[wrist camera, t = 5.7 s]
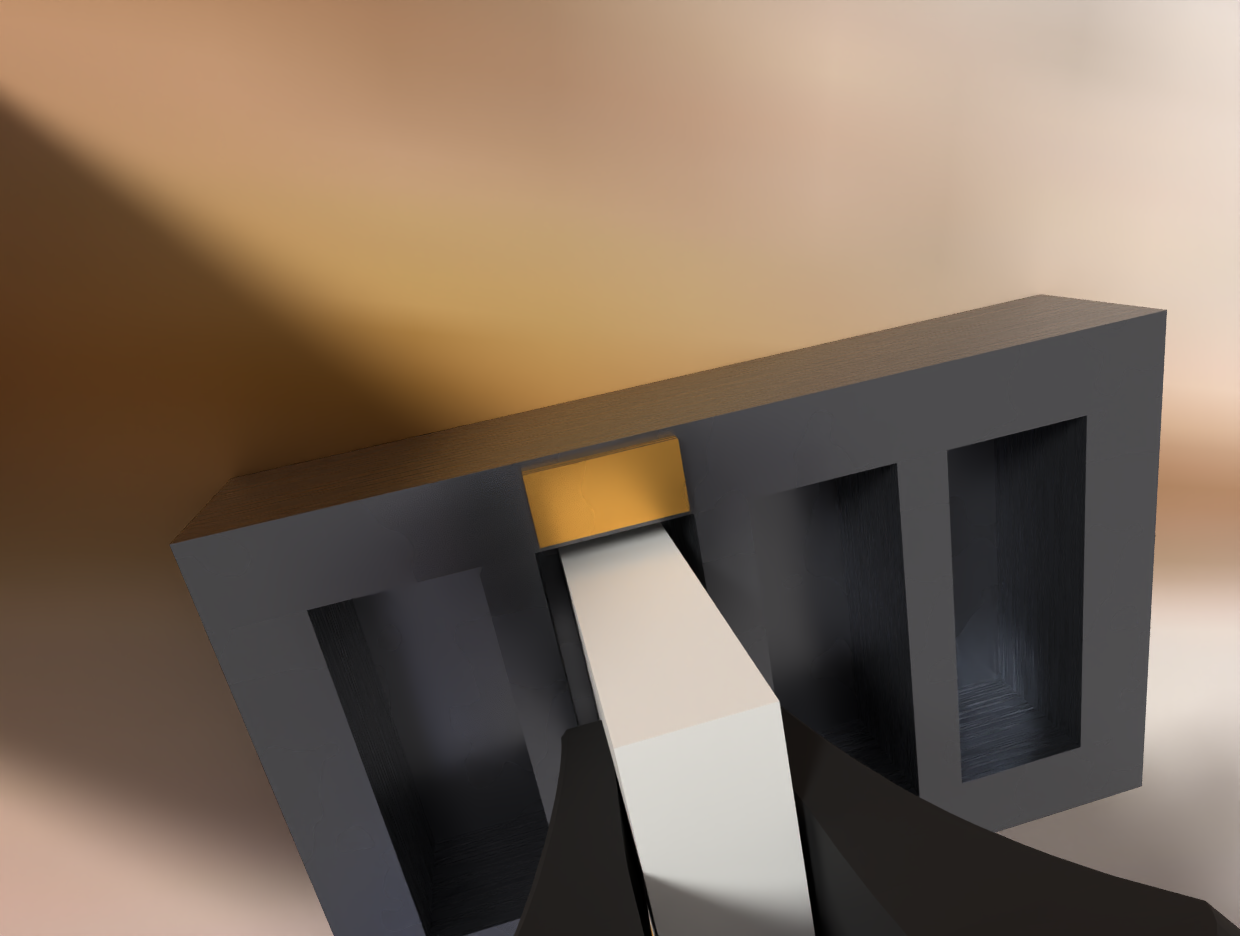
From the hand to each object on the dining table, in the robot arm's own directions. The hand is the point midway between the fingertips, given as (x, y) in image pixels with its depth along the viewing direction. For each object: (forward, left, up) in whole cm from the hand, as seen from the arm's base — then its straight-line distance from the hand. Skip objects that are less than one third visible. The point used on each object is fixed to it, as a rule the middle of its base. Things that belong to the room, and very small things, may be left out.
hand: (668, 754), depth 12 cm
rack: (0, -2, -4) cm, 4 cm away
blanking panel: (0, 0, -3) cm, 3 cm away
